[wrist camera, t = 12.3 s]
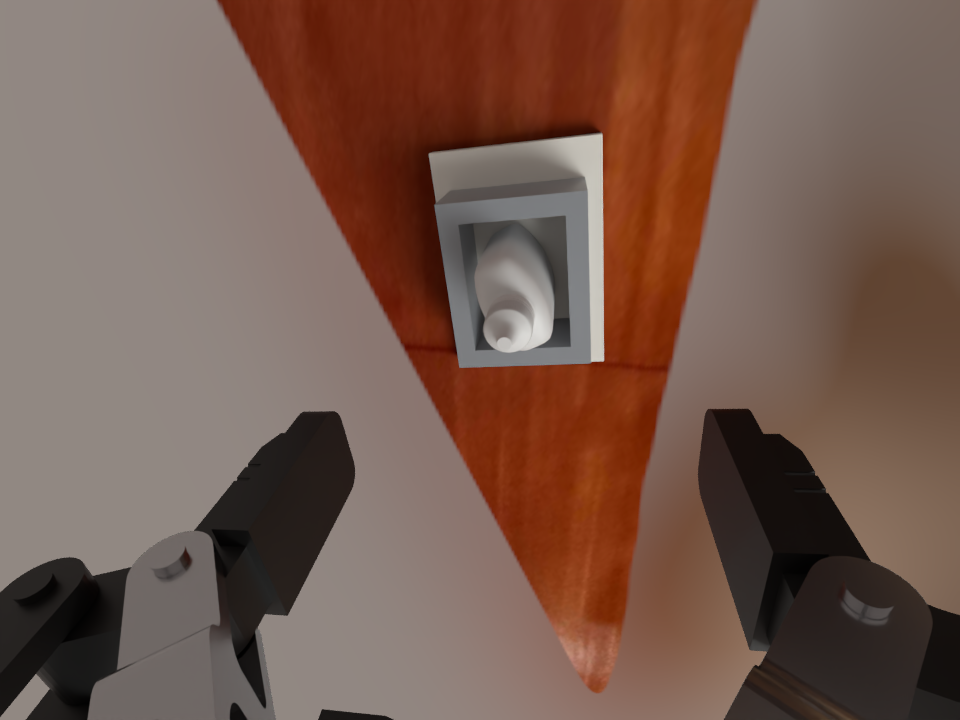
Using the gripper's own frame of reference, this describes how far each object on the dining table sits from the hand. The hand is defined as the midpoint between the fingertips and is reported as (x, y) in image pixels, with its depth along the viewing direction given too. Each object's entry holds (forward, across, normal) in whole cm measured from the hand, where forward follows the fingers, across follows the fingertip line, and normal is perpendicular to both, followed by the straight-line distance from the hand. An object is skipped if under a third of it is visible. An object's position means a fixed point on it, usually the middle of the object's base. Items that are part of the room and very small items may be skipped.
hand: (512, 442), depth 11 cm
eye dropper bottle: (+24, +2, +4) cm, 24 cm away
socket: (+25, +2, +4) cm, 25 cm away
